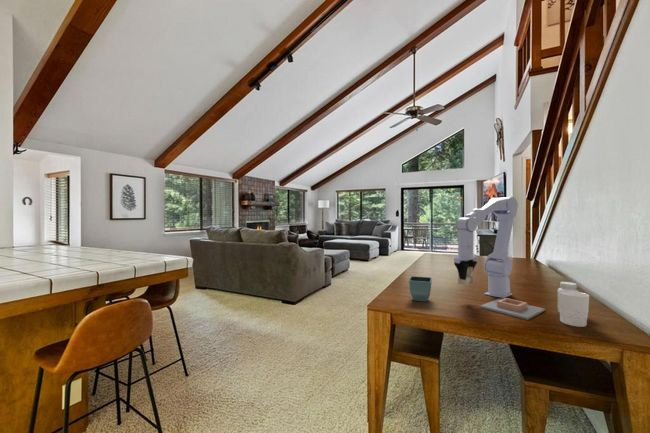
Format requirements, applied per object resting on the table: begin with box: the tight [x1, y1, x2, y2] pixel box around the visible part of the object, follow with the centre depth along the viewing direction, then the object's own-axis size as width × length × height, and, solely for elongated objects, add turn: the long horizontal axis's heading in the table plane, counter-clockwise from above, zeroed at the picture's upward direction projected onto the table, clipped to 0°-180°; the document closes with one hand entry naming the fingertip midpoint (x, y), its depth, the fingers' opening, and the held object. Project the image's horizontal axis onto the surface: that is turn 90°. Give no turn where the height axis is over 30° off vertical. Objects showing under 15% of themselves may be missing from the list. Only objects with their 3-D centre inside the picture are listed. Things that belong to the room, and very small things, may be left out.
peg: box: [457, 266, 474, 286], centre depth 121 cm, size 4×4×7 cm
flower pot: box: [408, 275, 433, 303], centre depth 123 cm, size 9×9×9 cm
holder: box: [480, 297, 546, 321], centre depth 111 cm, size 16×16×3 cm
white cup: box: [557, 290, 590, 328], centre depth 97 cm, size 8×8×10 cm
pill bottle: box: [556, 281, 580, 313], centre depth 106 cm, size 6×6×11 cm
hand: (465, 278), depth 121 cm, fingers closed on peg, 4 cm apart
